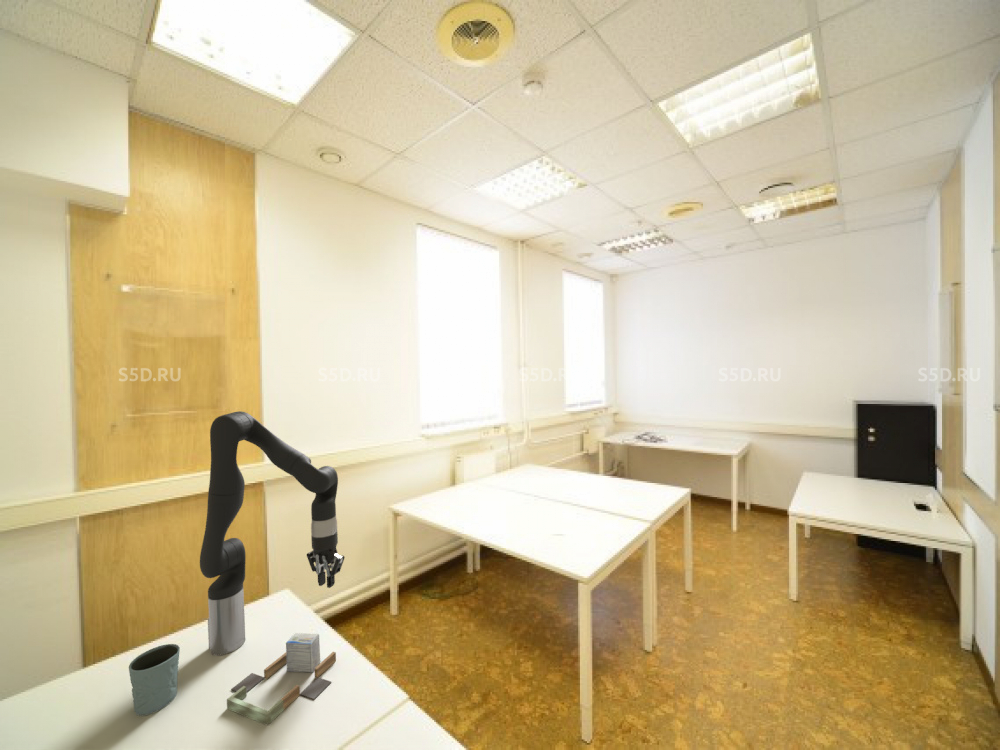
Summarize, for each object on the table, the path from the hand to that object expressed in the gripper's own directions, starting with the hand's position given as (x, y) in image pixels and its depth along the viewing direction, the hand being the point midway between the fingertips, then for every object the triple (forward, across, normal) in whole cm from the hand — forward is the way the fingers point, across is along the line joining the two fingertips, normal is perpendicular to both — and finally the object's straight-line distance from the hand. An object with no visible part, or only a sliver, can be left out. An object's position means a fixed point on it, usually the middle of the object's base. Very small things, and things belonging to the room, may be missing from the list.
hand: (326, 585), depth 124 cm
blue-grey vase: (+19, -28, -32) cm, 46 cm away
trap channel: (+19, 0, -16) cm, 25 cm away
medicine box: (+19, 0, -10) cm, 22 cm away
